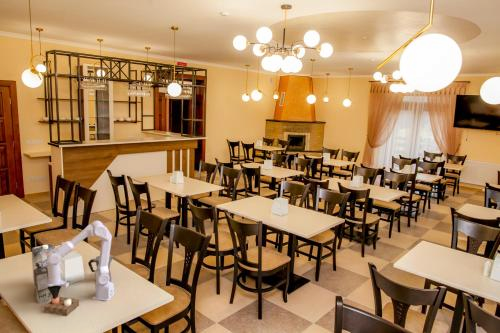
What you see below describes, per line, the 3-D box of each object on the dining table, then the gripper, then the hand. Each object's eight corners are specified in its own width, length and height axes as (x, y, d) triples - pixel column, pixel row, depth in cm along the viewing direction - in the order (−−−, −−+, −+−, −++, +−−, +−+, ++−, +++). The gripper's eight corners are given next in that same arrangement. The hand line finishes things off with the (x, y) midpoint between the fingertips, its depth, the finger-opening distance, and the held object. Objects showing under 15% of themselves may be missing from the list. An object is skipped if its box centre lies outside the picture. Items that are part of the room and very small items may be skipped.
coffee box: (51, 299, 194) (50, 272, 191) (38, 303, 190) (36, 275, 187) (47, 292, 200) (46, 266, 198) (34, 296, 196) (32, 269, 193)
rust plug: (61, 304, 187) (60, 296, 186) (56, 308, 184) (56, 299, 183) (55, 304, 188) (54, 295, 187) (50, 307, 184) (50, 298, 183)
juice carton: (32, 289, 202) (29, 245, 198) (50, 282, 211) (47, 240, 207) (40, 294, 198) (38, 249, 193) (58, 287, 207) (56, 243, 202)
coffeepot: (112, 274, 225) (111, 248, 222) (117, 280, 217) (116, 253, 214) (86, 281, 215) (85, 253, 212) (91, 287, 208) (90, 259, 205)
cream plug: (73, 307, 186) (72, 299, 185) (68, 311, 183) (68, 302, 182) (67, 306, 187) (66, 298, 186) (62, 310, 183) (62, 301, 183)
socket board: (79, 305, 189) (78, 299, 189) (66, 315, 180) (66, 309, 179) (57, 302, 191) (57, 296, 191) (44, 312, 181) (43, 306, 181)
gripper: (36, 275, 180) (37, 299, 182) (61, 279, 178) (62, 303, 180) (46, 269, 187) (47, 293, 189) (70, 272, 185) (71, 296, 187)
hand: (55, 297), depth 185 cm, fingers closed, pressing on rust plug
